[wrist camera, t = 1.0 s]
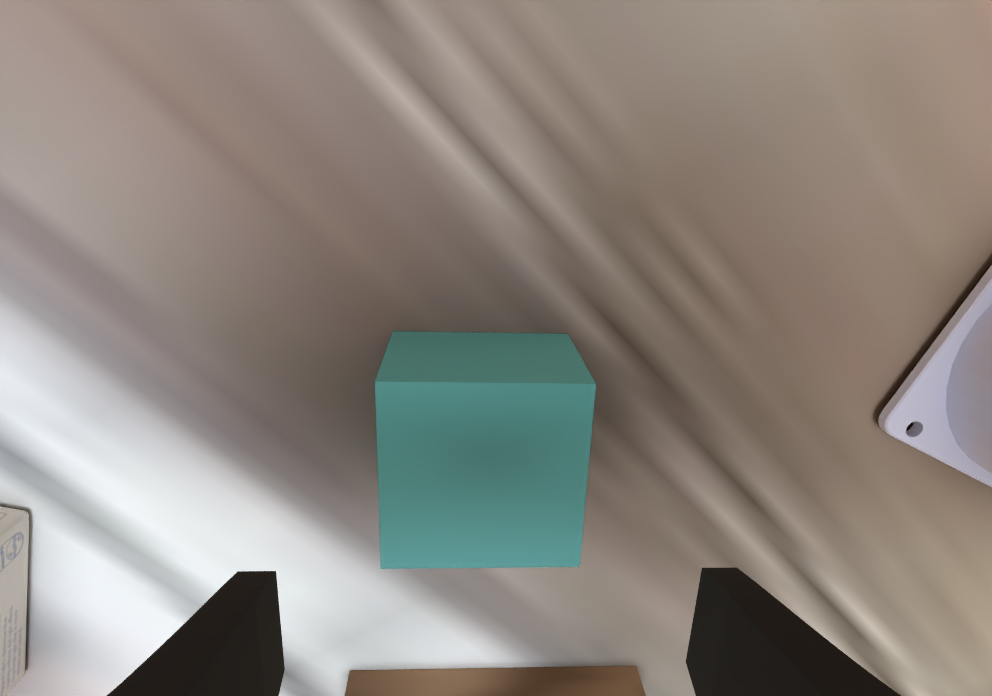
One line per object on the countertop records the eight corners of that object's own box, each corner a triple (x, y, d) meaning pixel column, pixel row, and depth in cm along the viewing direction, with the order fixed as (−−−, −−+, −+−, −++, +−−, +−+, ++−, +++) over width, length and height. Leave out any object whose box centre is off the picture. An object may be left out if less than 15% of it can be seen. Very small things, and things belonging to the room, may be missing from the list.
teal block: (567, 332, 18) (596, 383, 14) (556, 483, 19) (579, 566, 16) (393, 330, 17) (375, 381, 14) (396, 483, 19) (380, 568, 15)
